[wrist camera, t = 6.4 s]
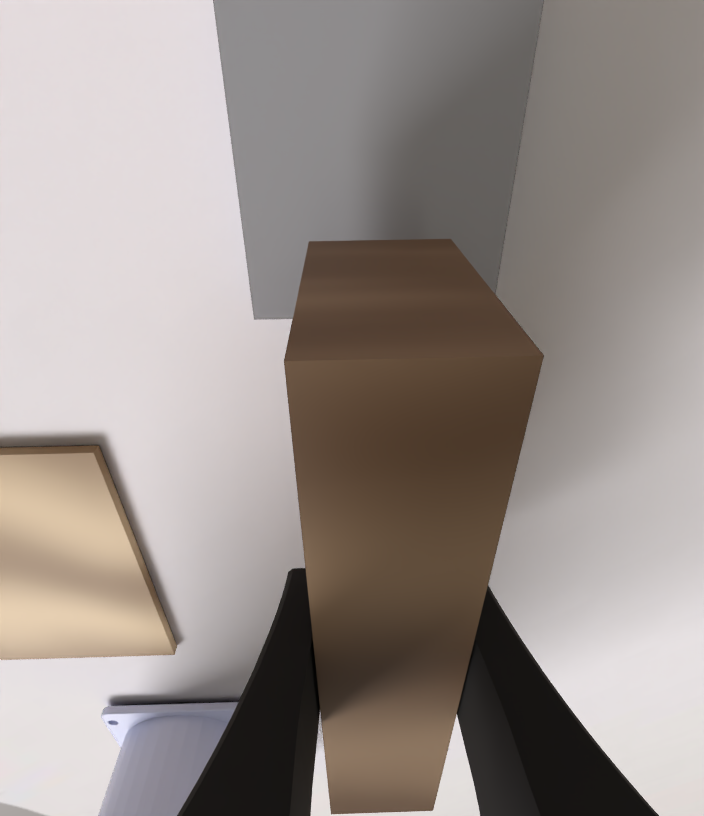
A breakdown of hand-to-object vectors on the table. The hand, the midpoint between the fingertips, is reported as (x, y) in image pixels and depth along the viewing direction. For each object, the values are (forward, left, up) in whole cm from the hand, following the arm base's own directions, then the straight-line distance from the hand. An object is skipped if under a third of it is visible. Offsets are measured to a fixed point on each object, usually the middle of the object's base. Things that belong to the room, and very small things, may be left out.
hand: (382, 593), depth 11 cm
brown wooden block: (0, 0, -3) cm, 3 cm away
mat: (-6, +13, -6) cm, 15 cm away
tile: (+5, 0, -5) cm, 7 cm away
